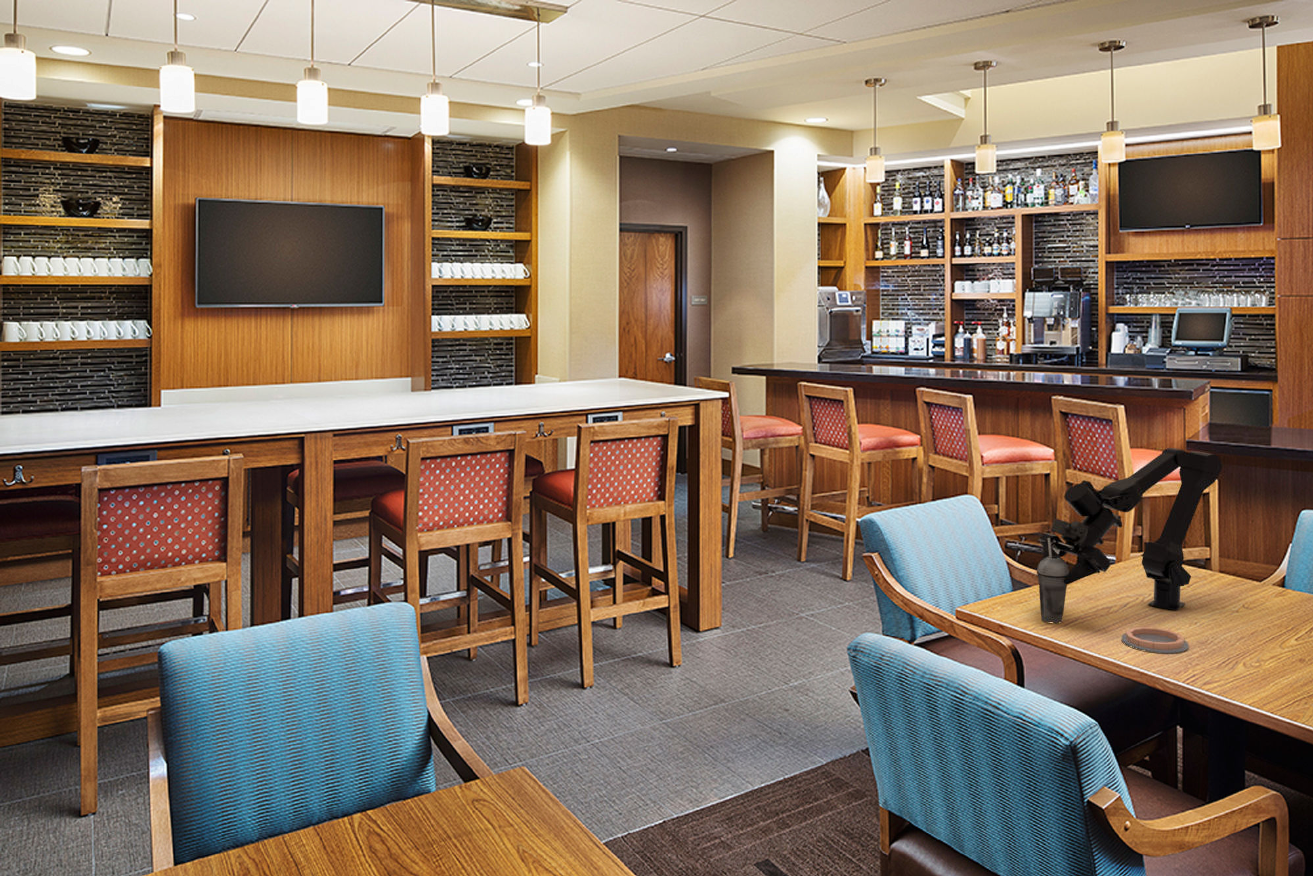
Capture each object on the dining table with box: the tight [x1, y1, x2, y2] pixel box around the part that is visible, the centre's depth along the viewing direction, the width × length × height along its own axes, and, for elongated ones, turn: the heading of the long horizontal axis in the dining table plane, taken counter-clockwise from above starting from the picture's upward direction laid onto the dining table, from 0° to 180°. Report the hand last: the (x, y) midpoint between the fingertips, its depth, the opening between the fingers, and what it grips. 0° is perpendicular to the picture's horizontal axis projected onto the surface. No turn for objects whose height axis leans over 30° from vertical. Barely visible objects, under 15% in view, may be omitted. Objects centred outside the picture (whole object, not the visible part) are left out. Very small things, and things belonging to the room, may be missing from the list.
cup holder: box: [1120, 626, 1189, 655], centre depth 207 cm, size 13×13×2 cm
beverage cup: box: [1036, 538, 1070, 624], centre depth 223 cm, size 7×7×20 cm
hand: (1051, 578), depth 223 cm, fingers open, 9 cm apart
